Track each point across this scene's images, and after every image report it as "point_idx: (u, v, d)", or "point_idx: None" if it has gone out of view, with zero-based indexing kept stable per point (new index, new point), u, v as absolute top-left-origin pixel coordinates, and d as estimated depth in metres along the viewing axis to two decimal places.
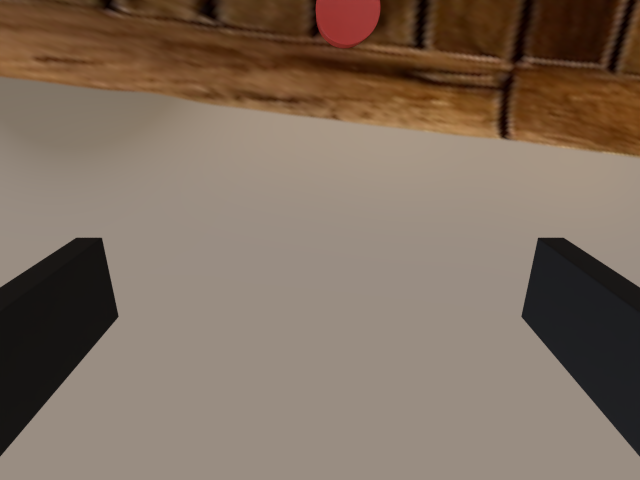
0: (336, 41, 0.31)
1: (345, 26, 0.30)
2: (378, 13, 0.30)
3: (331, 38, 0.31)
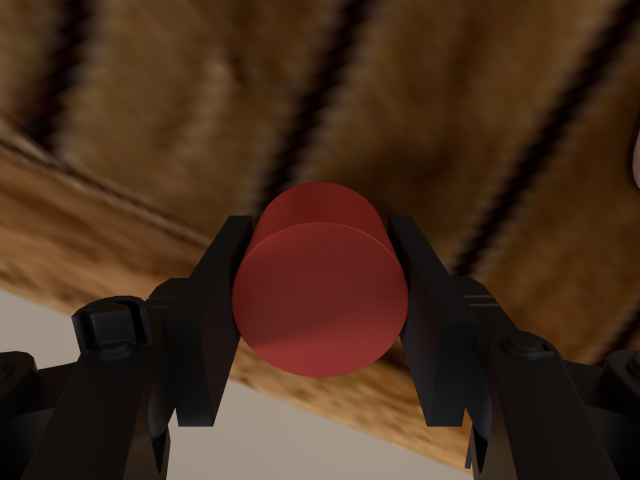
0: (266, 358, 0.11)
1: (299, 339, 0.11)
2: (392, 339, 0.11)
3: (255, 349, 0.11)
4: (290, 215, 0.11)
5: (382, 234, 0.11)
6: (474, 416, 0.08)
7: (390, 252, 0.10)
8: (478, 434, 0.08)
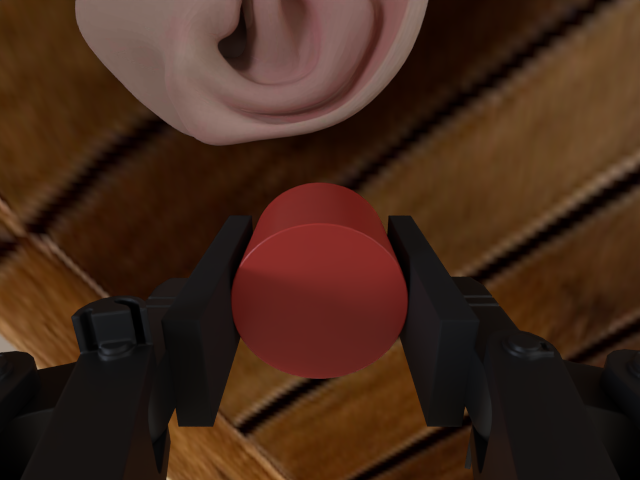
0: (265, 359, 0.11)
1: (299, 340, 0.11)
2: (392, 340, 0.11)
3: (255, 350, 0.11)
4: (290, 216, 0.11)
5: (381, 235, 0.11)
6: (474, 416, 0.08)
7: (389, 253, 0.10)
8: (478, 434, 0.08)
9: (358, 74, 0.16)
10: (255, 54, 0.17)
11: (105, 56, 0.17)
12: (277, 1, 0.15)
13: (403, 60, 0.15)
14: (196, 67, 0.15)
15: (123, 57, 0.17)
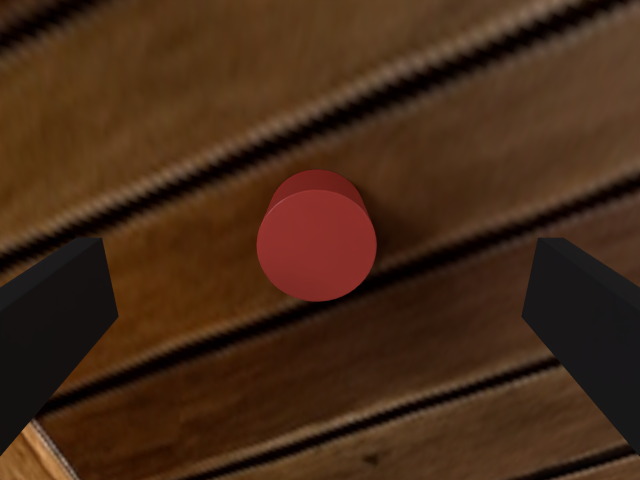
0: (279, 287, 0.17)
1: (302, 272, 0.16)
2: (366, 272, 0.16)
3: (272, 280, 0.17)
4: (296, 187, 0.16)
5: (359, 201, 0.16)
6: None
7: (363, 210, 0.16)
8: None
9: None
10: None
11: None
12: None
13: None
14: None
15: None
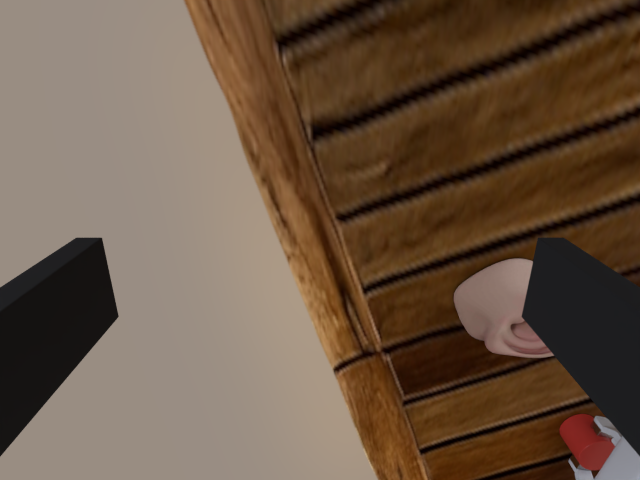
0: (582, 466, 0.49)
1: (592, 462, 0.49)
2: None
3: (580, 464, 0.49)
4: (592, 435, 0.48)
5: (610, 438, 0.49)
6: None
7: None
8: None
9: None
10: (518, 325, 0.45)
11: (460, 308, 0.45)
12: None
13: None
14: (504, 332, 0.43)
15: (469, 312, 0.44)
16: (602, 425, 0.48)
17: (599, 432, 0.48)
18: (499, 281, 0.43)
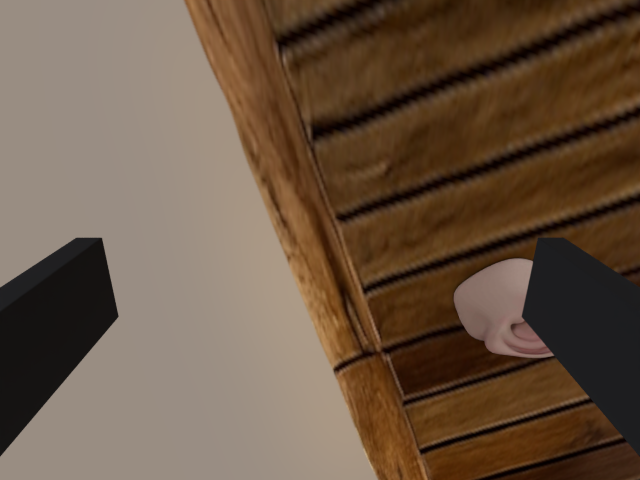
0: None
1: None
2: None
3: None
4: None
5: None
6: None
7: None
8: None
9: None
10: (518, 325, 0.45)
11: (460, 308, 0.45)
12: None
13: None
14: (504, 332, 0.43)
15: (469, 312, 0.44)
16: None
17: None
18: (499, 281, 0.43)
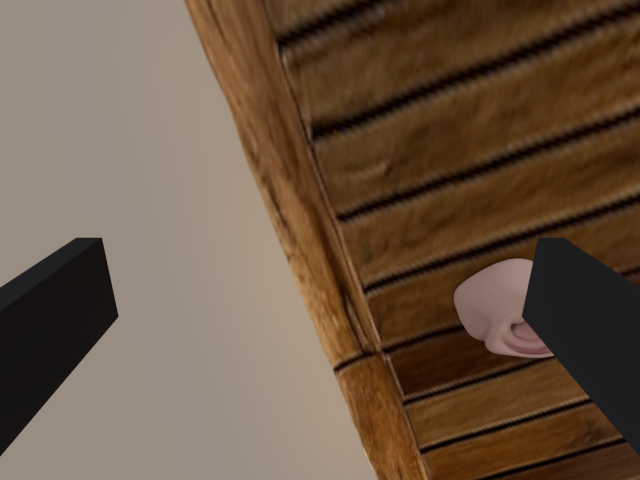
0: None
1: None
2: None
3: None
4: None
5: None
6: None
7: None
8: None
9: None
10: (518, 325, 0.45)
11: (460, 308, 0.45)
12: None
13: None
14: (504, 332, 0.43)
15: (469, 312, 0.44)
16: None
17: None
18: (499, 281, 0.43)
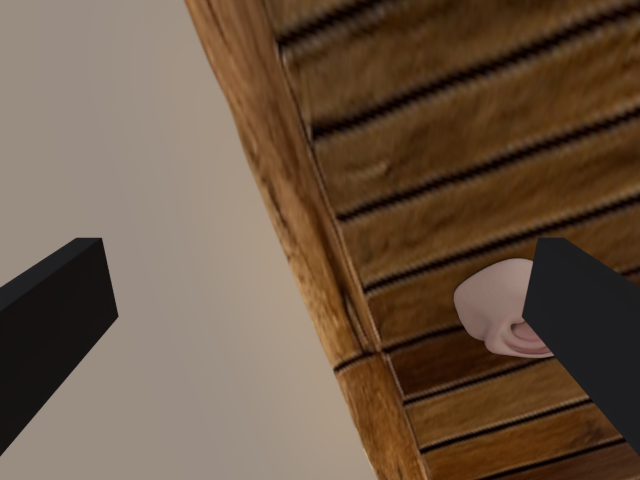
0: None
1: None
2: None
3: None
4: None
5: None
6: None
7: None
8: None
9: None
10: (518, 325, 0.45)
11: (460, 308, 0.45)
12: None
13: None
14: (504, 332, 0.43)
15: (469, 312, 0.44)
16: None
17: None
18: (499, 281, 0.43)
